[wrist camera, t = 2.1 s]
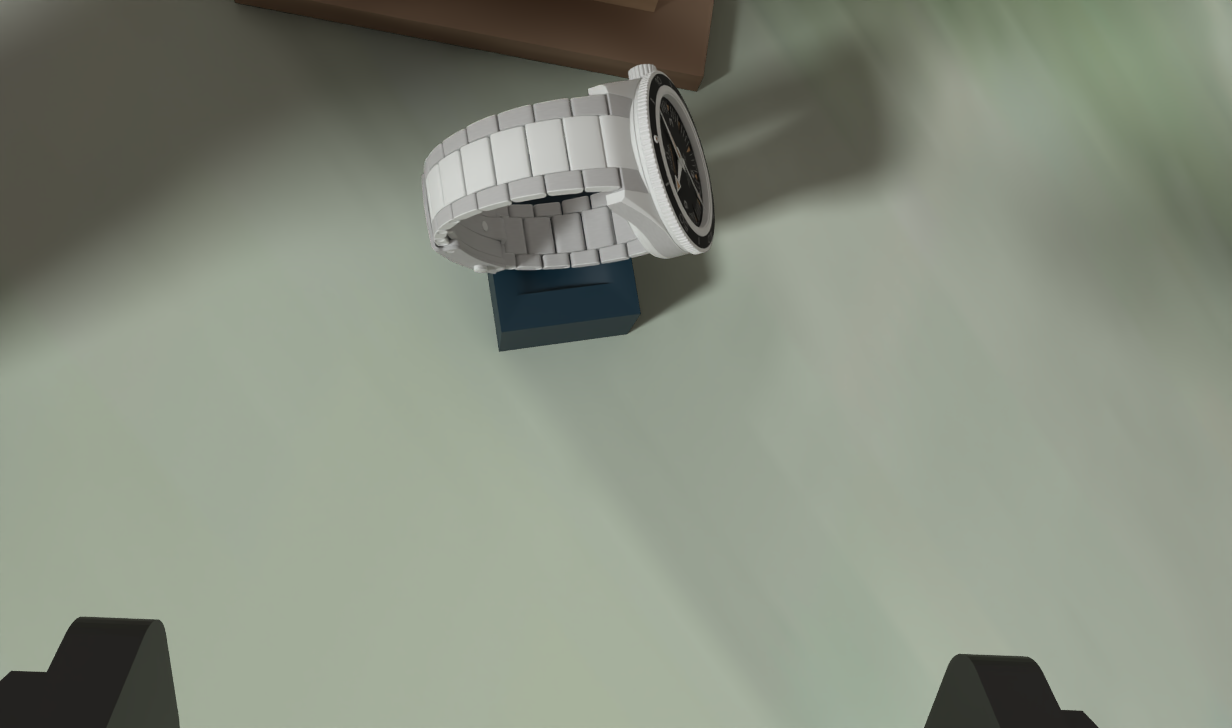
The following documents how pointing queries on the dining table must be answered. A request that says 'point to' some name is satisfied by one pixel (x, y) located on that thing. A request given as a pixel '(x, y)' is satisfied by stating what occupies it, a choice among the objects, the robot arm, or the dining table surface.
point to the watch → (571, 205)
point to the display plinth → (542, 29)
